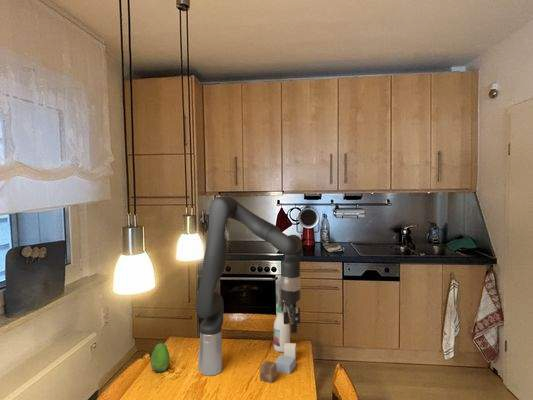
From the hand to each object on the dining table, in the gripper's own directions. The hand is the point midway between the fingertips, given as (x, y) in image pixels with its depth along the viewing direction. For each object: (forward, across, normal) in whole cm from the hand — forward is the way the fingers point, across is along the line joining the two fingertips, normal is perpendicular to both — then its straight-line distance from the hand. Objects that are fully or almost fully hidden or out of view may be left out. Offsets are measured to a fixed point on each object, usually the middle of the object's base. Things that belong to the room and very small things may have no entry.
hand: (290, 328), depth 135 cm
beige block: (+24, -21, +8) cm, 32 cm away
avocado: (+25, -28, -48) cm, 61 cm away
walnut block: (+24, -8, -6) cm, 26 cm away
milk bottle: (+24, -30, +7) cm, 39 cm away
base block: (+24, -13, +3) cm, 27 cm away
